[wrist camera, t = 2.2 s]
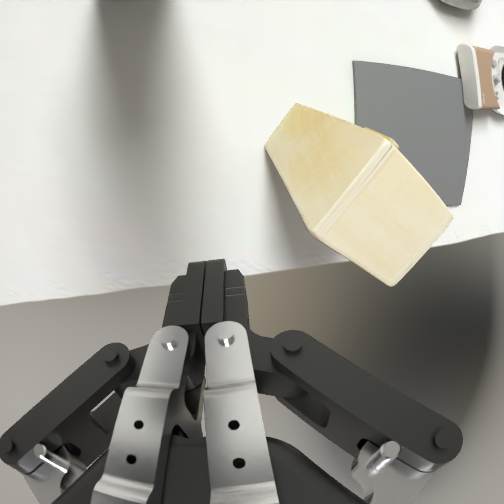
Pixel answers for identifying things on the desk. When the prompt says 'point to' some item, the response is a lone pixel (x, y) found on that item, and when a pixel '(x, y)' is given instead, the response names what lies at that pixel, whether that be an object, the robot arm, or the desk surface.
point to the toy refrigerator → (357, 192)
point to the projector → (464, 3)
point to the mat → (418, 120)
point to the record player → (482, 76)
